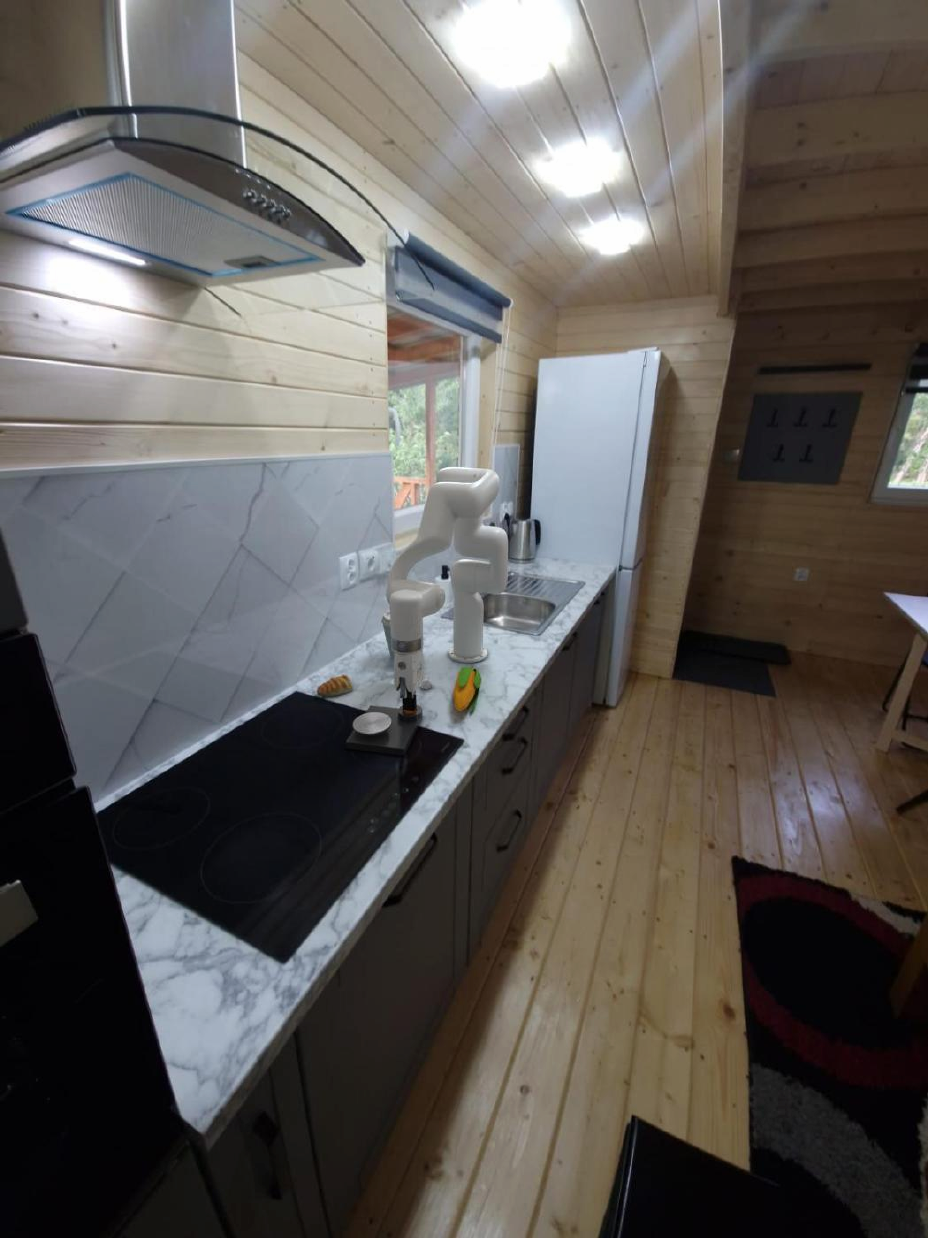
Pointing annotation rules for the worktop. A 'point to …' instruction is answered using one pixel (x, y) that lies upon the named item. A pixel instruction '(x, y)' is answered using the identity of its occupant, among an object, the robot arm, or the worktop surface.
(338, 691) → the pastry
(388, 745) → the scale
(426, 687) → the garlic
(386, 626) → the disposable coffee cup
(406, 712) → the tare button
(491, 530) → the robot arm
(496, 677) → the worktop surface
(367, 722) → the scale pan
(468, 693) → the corn
